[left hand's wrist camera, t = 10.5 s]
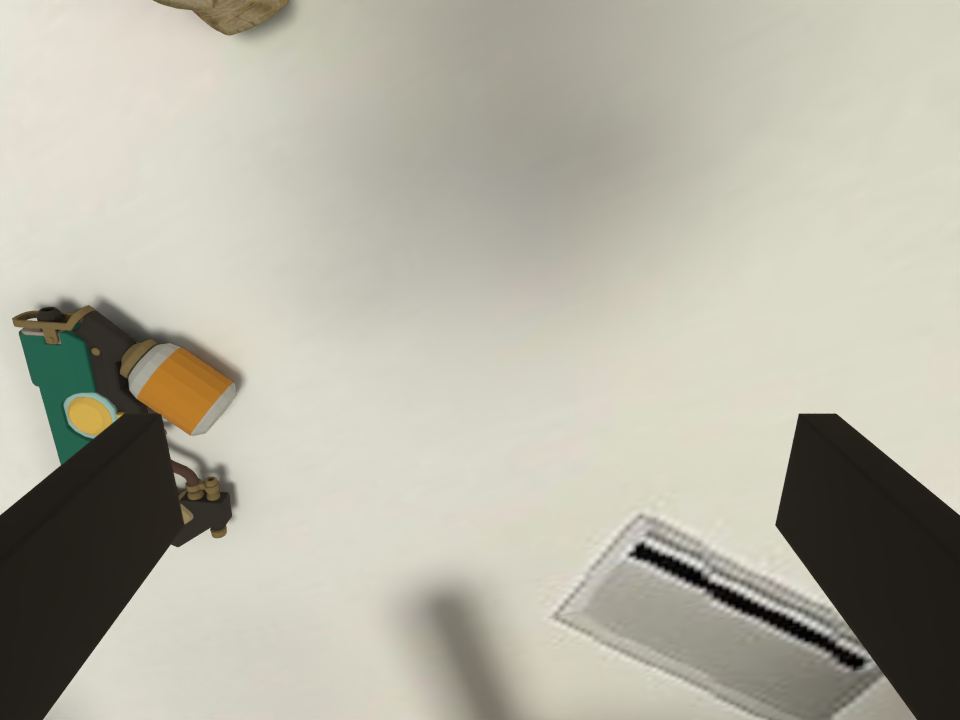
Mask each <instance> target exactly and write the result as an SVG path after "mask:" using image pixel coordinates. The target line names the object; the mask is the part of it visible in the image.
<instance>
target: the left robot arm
mask: <svg viewBox="0 0 960 720" xmlns="http://www.w3.org/2000/svg"><path fill="white" fill-rule="evenodd" d="M183 527H184V520H183V515H182V510H181V506H180V501H179V496H178V491H177V487H176V482H175V477H174V473H173V468H172V463H171V458H170V454H169V449H168V444H167V439H166V435H165V430H164V425H163V421H162V416H161V414H123V415H122V416H120V417H119V418H118V419H117V420H116V421H114V422H113V423H112V424H111V425H109V426H108V427H107V428H106V429H105V430H103V431H102V432H101V433H100V434H99V435H97V436H96V437H95V438H94V439H92V440H91V441H90V442H89V443H88V444H86V445H85V446H84V447H83V448H82V449H80V450H79V451H78V452H77V453H75V454H74V455H73V456H72V457H71V458H69V459H68V460H67V461H66V462H65V463H63V464H62V465H61V466H60V467H58V468H57V469H56V470H55V471H54V472H52V473H51V474H50V475H49V476H48V477H46V478H45V479H44V480H43V481H41V482H40V483H39V484H38V485H37V486H35V487H34V488H33V489H32V490H31V491H29V492H28V493H27V494H26V495H24V496H23V497H22V498H21V499H20V500H18V501H17V502H16V503H15V504H13V505H12V506H11V507H10V508H9V509H7V510H6V511H5V512H4V513H3V514H1V515H0V720H43V719H44V717H45V716H46V715H47V713H48V712H49V710H50V709H51V708H52V706H53V705H54V704H55V702H56V701H57V699H58V698H59V697H60V695H61V694H62V693H63V691H64V690H65V689H66V687H67V686H68V684H69V683H70V682H71V680H72V679H73V678H74V676H75V675H76V673H77V672H78V671H79V669H80V668H81V667H82V665H83V664H84V662H85V661H86V660H87V658H88V657H89V656H90V654H91V653H92V652H93V650H94V649H95V647H96V646H97V645H98V643H99V642H100V641H101V639H102V638H103V636H104V635H105V634H106V632H107V631H108V630H109V628H110V627H111V625H112V624H113V623H114V621H115V620H116V619H117V617H118V616H119V615H120V613H121V612H122V610H123V609H124V608H125V606H126V605H127V604H128V602H129V601H130V599H131V598H132V597H133V595H134V594H135V593H136V591H137V590H138V588H139V587H140V586H141V584H142V583H143V582H144V580H145V579H146V578H147V576H148V575H149V573H150V572H151V571H152V569H153V568H154V567H155V565H156V564H157V562H158V561H159V560H160V558H161V557H162V556H163V554H164V553H165V552H166V550H167V549H168V547H169V546H170V545H171V543H172V542H173V541H174V539H175V538H176V536H177V535H178V534H179V532H180V531H181V530H182V528H183ZM776 527H777V528H778V530H779V531H780V532H781V534H782V535H783V536H784V538H785V539H786V541H787V542H788V543H789V545H790V546H791V547H792V549H793V550H794V552H795V553H796V554H797V556H798V557H799V558H800V560H801V561H802V562H803V564H804V565H805V567H806V568H807V569H808V571H809V572H810V573H811V575H812V576H813V578H814V579H815V580H816V582H817V583H818V584H819V586H820V587H821V588H822V590H823V591H824V593H825V594H826V595H827V597H828V598H829V599H830V601H831V602H832V604H833V605H834V606H835V608H836V609H837V610H838V612H839V613H840V615H841V616H842V617H843V619H844V620H845V621H846V623H847V624H848V625H849V627H850V628H851V630H852V631H853V632H854V634H855V635H856V636H857V638H858V639H859V641H860V642H861V643H862V645H863V646H864V647H865V649H866V650H867V652H868V653H869V654H870V656H871V657H872V658H873V660H874V661H875V662H876V664H877V665H878V667H879V668H880V669H881V671H882V672H883V673H884V675H885V676H886V678H887V679H888V680H889V682H890V683H891V684H892V686H893V687H894V689H895V690H896V691H897V693H898V694H899V695H900V697H901V698H902V699H903V701H904V702H905V704H906V705H907V706H908V708H909V709H910V710H911V712H912V713H913V715H914V716H915V717H916V719H917V720H960V515H959V514H957V513H956V512H955V511H954V510H953V509H951V508H950V507H949V506H948V505H947V504H945V503H944V502H943V501H942V500H940V499H939V498H938V497H937V496H936V495H934V494H933V493H932V492H931V491H929V490H928V489H927V488H926V487H925V486H923V485H922V484H921V483H920V482H919V481H917V480H916V479H915V478H914V477H912V476H911V475H910V474H909V473H908V472H906V471H905V470H904V469H903V468H902V467H900V466H899V465H898V464H897V463H895V462H894V461H893V460H892V459H891V458H889V457H888V456H887V455H886V454H885V453H883V452H882V451H881V450H880V449H878V448H877V447H876V446H875V445H874V444H872V443H871V442H870V441H869V440H868V439H866V438H865V437H864V436H863V435H861V434H860V433H859V432H858V431H857V430H855V429H854V428H853V427H852V426H851V425H849V424H848V423H847V422H846V421H844V420H843V419H842V418H841V417H840V416H838V415H837V414H799V416H798V421H797V425H796V430H795V435H794V439H793V444H792V449H791V454H790V458H789V463H788V468H787V473H786V477H785V482H784V487H783V491H782V496H781V501H780V506H779V510H778V515H777V520H776Z"/></svg>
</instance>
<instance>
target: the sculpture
mask: <svg viewBox="0 0 960 720" xmlns="http://www.w3.org/2000/svg"><path fill="white" fill-rule="evenodd" d="M154 1H156V2H158V3H160V4H163V5H166V6H170V7H174V8H178V9H187V10H192V11H193V12H194V13H196V14H197V15H198V16H199V17H200V18H201V19H202V20H203V21H205V22H206V23H207V24H208V25H210V26H211V27H212V28H214V29H215V30H217V31H219V32H221V33H223V34H225V35H234V34H237V33H240V32H243V31H245V30H247V29H250V28H252V27H254V26H256V25H258V24H260V23H262V22H264V21H266V20H267V19H269V18H271V17H272V16H273V15H274V14H276V13H277V12H278V10H279V9H280V8H282V7H284V6H285V5H287V3H288V0H154Z"/></svg>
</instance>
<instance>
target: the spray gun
mask: <svg viewBox="0 0 960 720" xmlns="http://www.w3.org/2000/svg"><path fill="white" fill-rule="evenodd" d="M31 318H37V320H38V321H29V320H28V319H31ZM12 320H13V324H14V326H15V327H24V328H23V329H22V330H20V331H19V336H20V340H21V343H22V347H23V351H24V354H25V358H26V362H27V365H28V369H29V373H30V376H31V380H32V382H33V384H34V385H35V386H39V388H40V392H41V395H42V399H43V402H44V406H45V409H46V413H47V417H48V420H49V424H50V427H51V431H52V435H53V438H54V442H55V445H56V449H57V452H58V456H59V460H60V463H61V465H62V464H63V463H65V462H66V461H67V460H68V459H69V458H71V457H72V456H73V455H74V454H75V453H77V452H78V451H79V450H80V449H82V448H83V447H84V446H85V445H86V444H88V443H89V442H90V441H91V440H92V439H94V438H95V437H96V436H97V435H99V434H100V433H101V432H102V431H103V430H105V429H106V428H107V427H108V426H109V425H111V424H112V423H113V422H114V421H116V420H117V419H118V418H119V417H120V416H122V415H123V414H148V411H147V406H148V407H149V408H151V409H152V410H154V411H155V412H157V413H158V414H161V416H163V417H164V418H165V419H167V420H168V421H170V422H171V423H173V424H174V425H176V426H177V427H179V428H180V429H182V430H183V431H185V432H186V433H187V434H189V435H191V436H195V435H200V434H204V433H206V432H207V431H208V430H209V429H210V428H211V427H212V425H213V424H214V423H215V422H216V421H217V420H218V418H219V417H220V416H221V415H222V413H223V412H224V411H225V410H226V408H227V407H228V406H229V405H230V403H231V402H232V401H233V399H234V398H235V396H236V395H237V392H236V385H235V383H234V382H232V381H231V380H229V379H228V378H226V377H225V376H223V375H222V374H221V373H219V372H218V371H216V370H215V369H213V368H212V367H210V366H209V365H207V364H206V363H204V362H203V361H201V360H200V359H198V358H197V357H195V356H194V355H192V354H191V353H190V352H188V351H187V350H185V349H184V348H182V347H179V346H176V345H174V344H171V343H167V344H159V345H158V343H156V342H155V341H153V340H151V339H148V340H146V341H144V342H141V343H136V342H135V341H134V340H133V339H132V338H131V337H130V336H129V335H127V334H126V333H125V332H123V331H122V330H121V329H120V328H118V327H117V326H116V325H114V324H113V323H112V322H110V321H109V320H108V319H106V318H105V317H104V316H103V315H101V314H100V313H99V312H97V311H95V309H94V308H92V307H91V306H89V305H88V306H85V307H83V308H81V309H80V310H78V311H77V312H76V313H63V312H60V311H59V310H58V309H56V308H54V307H47V308H43V309H40V310H39V311H29V312H25V313H22V314H19V315H17V316H15V317H14V318H12ZM78 321H79V322H81V323H77V322H78ZM76 323H77V324H76ZM135 343H136V344H135ZM127 378H128V379H127ZM128 381H129V382H128ZM164 430H165V429H164ZM166 434H167V432H166V430H165V435H166ZM171 463H172V468H173V472H174V473H177V474H179V475H181V476H182V477H184V478H185V479H186V480H187V482H186V491H184V492H182V493H181V494H180V495H179V501H180V506H181V510H182V515H183V520H184V527H183V528H182V530H181V531H180V532H179V534H178V535H177V536H176V538H175V539H174V541H173V542H172V543H171V545H174V546H176V547H180V546H181V545H183V544H185V543H186V542H188V541H190V540H191V539H193V538H194V537H196V536H198V535H199V534H201V533H203V532H204V531H206V530H207V529H209V528H211V529H210V530H211V533H212V537H214V538H221V537H223V536H225V535H226V533H227V528H226V524H227V523H228V521H229V520H230V518H231V517H232V512H231V505H230V498H229V493H227V492H219V491H218V490H219V489H220V488H219V482H218V481H217V478H216V477H209V478H208V479H206V481H205V482H201V480H200V479H199V478H198V477H197V476H196V474H195V473H194V472H193V471H192V470H191V469H189V468H188V467H186V466H184V465H182V464H179V463H177V462H175V461H173V460H171ZM203 490H205V491H203Z"/></svg>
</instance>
